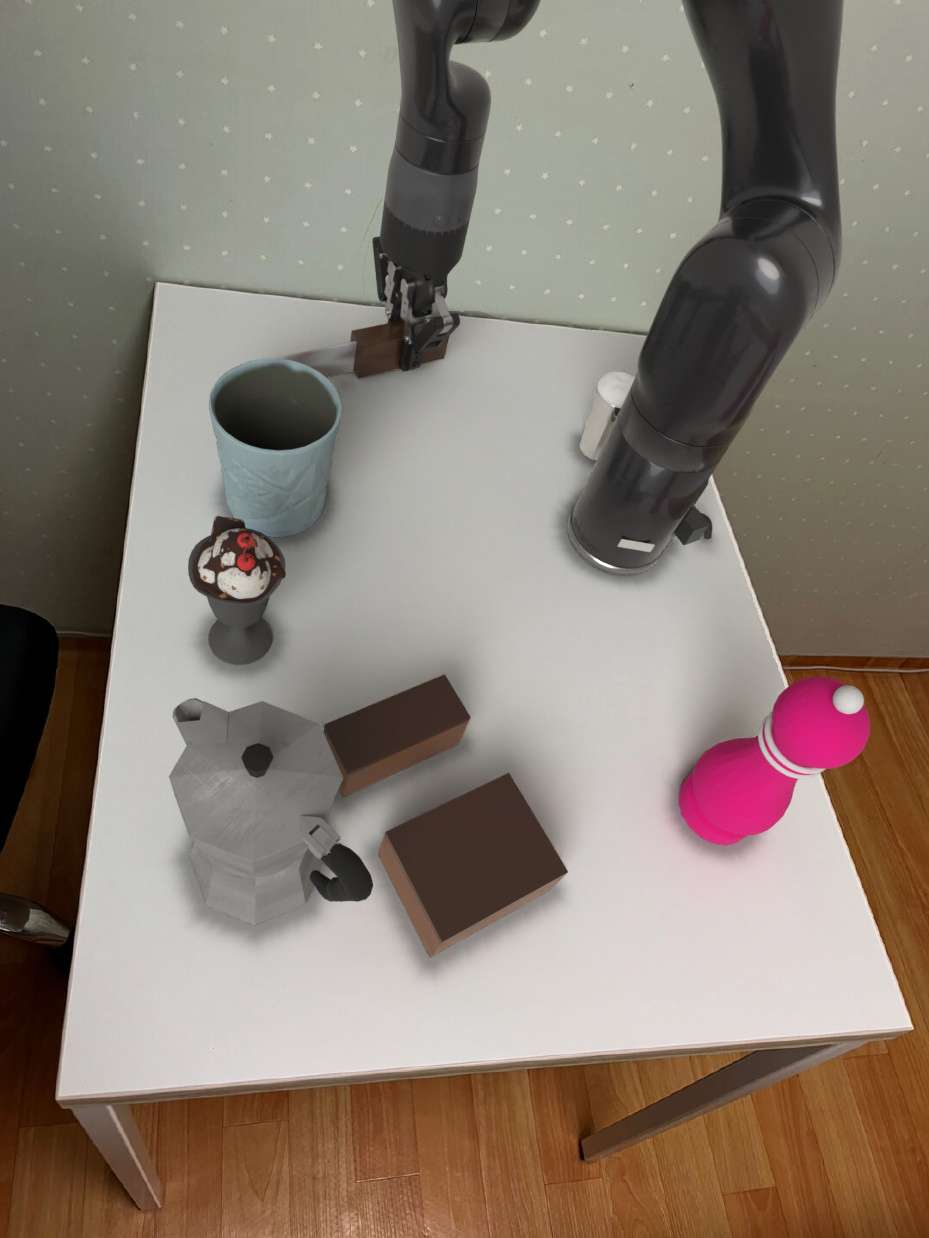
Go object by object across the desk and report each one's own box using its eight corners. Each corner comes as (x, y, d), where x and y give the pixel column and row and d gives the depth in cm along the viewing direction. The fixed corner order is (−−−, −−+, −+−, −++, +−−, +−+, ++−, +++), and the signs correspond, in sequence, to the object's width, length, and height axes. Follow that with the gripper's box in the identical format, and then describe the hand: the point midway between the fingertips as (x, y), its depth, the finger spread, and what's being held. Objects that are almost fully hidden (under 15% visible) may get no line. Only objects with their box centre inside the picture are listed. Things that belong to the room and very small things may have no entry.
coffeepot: (140, 839, 59) (99, 729, 45) (246, 750, 64) (240, 624, 49) (296, 1003, 56) (309, 943, 41) (396, 896, 61) (439, 808, 46)
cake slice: (434, 703, 69) (445, 673, 65) (458, 744, 68) (471, 717, 64) (320, 752, 65) (323, 723, 61) (343, 797, 64) (348, 771, 60)
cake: (494, 796, 66) (509, 771, 62) (548, 891, 63) (568, 871, 59) (377, 854, 62) (385, 831, 58) (429, 958, 59) (442, 942, 55)
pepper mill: (706, 866, 66) (852, 765, 50) (655, 784, 69) (777, 663, 53) (774, 829, 69) (934, 722, 53) (723, 752, 72) (859, 628, 56)
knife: (433, 343, 91) (440, 312, 88) (444, 358, 90) (451, 327, 87) (242, 385, 82) (242, 352, 79) (252, 403, 81) (252, 370, 78)
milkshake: (624, 469, 88) (662, 397, 80) (574, 462, 87) (606, 387, 79) (621, 437, 90) (657, 363, 82) (571, 429, 89) (603, 354, 81)
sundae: (268, 684, 68) (269, 574, 55) (184, 661, 67) (166, 545, 55) (294, 616, 71) (301, 499, 59) (215, 594, 71) (204, 472, 58)
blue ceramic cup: (335, 465, 81) (345, 366, 71) (329, 552, 75) (339, 458, 65) (223, 453, 79) (217, 350, 69) (209, 541, 74) (200, 443, 64)
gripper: (506, 245, 73) (466, 396, 87) (428, 150, 78) (402, 307, 93) (429, 259, 70) (400, 413, 84) (353, 159, 75) (338, 320, 90)
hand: (401, 357), depth 88 cm, fingers closed on knife, 2 cm apart
